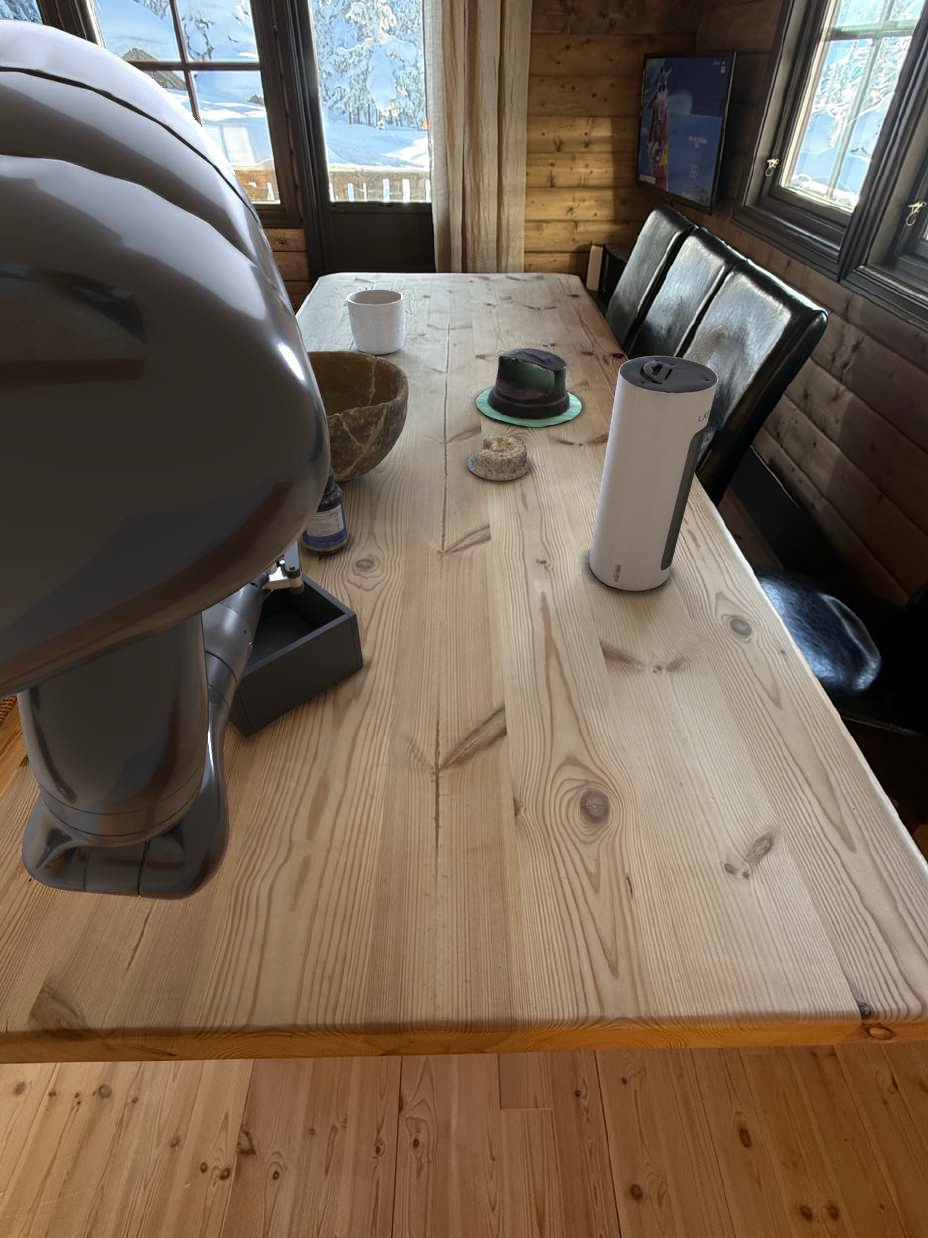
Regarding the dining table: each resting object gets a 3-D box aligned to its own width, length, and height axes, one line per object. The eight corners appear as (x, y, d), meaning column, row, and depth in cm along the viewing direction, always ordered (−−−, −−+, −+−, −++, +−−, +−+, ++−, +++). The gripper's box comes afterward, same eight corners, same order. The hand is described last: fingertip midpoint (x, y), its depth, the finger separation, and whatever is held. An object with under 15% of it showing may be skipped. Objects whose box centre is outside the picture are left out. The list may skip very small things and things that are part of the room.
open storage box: (245, 738, 65) (227, 686, 60) (177, 663, 73) (156, 611, 68) (363, 665, 72) (356, 613, 67) (290, 604, 80) (279, 554, 75)
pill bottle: (309, 531, 92) (296, 459, 85) (352, 532, 92) (342, 460, 85) (299, 556, 88) (284, 483, 81) (344, 557, 88) (333, 484, 80)
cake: (528, 456, 111) (533, 426, 107) (527, 486, 103) (532, 455, 100) (470, 449, 111) (473, 418, 107) (464, 478, 103) (467, 447, 100)
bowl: (219, 519, 95) (190, 420, 85) (257, 436, 115) (237, 349, 105) (410, 516, 95) (404, 417, 86) (415, 434, 116) (410, 346, 106)
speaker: (646, 604, 80) (696, 395, 63) (572, 573, 85) (599, 371, 68) (681, 563, 87) (735, 363, 70) (610, 536, 91) (644, 343, 74)
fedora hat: (600, 390, 128) (567, 434, 115) (520, 418, 139) (481, 461, 126) (571, 314, 122) (532, 351, 108) (489, 351, 133) (445, 388, 120)
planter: (377, 362, 142) (372, 308, 135) (341, 349, 149) (334, 297, 141) (418, 348, 149) (416, 296, 142) (382, 335, 155) (378, 285, 148)
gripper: (287, 595, 48) (312, 483, 61) (86, 604, 48) (154, 488, 60) (303, 668, 53) (323, 550, 66) (121, 677, 52) (177, 556, 65)
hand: (242, 521), depth 63 cm, fingers closed on supplement bottle, 5 cm apart
